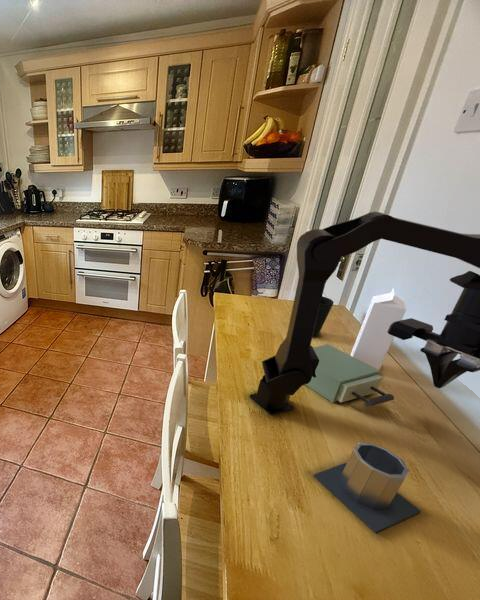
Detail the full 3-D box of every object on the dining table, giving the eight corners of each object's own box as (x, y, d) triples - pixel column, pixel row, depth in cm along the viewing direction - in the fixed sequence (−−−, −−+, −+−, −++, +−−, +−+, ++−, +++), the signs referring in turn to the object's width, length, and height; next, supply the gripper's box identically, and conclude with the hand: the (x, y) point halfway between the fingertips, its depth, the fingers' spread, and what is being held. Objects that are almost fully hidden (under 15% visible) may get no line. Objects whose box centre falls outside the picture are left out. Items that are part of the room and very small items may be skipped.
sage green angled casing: (371, 391, 77) (380, 370, 74) (332, 402, 74) (341, 381, 71) (321, 362, 88) (327, 344, 86) (285, 371, 85) (291, 352, 82)
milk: (376, 364, 87) (410, 290, 78) (377, 375, 83) (412, 297, 74) (348, 356, 91) (377, 284, 82) (348, 366, 86) (378, 291, 78)
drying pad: (375, 533, 48) (376, 531, 48) (313, 476, 57) (314, 474, 56) (419, 513, 51) (421, 511, 50) (353, 461, 59) (354, 459, 59)
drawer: (397, 404, 72) (404, 388, 70) (360, 415, 69) (367, 399, 67) (328, 365, 85) (333, 351, 84) (296, 373, 82) (300, 359, 81)
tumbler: (372, 515, 50) (390, 483, 47) (330, 478, 56) (344, 447, 53) (400, 503, 51) (419, 471, 48) (356, 468, 57) (371, 438, 54)
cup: (326, 340, 99) (339, 305, 94) (299, 337, 100) (310, 303, 96) (315, 328, 106) (326, 295, 101) (290, 326, 107) (299, 293, 102)
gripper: (598, 331, 48) (539, 411, 54) (438, 288, 64) (407, 353, 71) (557, 343, 45) (500, 426, 51) (401, 295, 61) (372, 362, 68)
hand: (438, 387), depth 60 cm, fingers closed
